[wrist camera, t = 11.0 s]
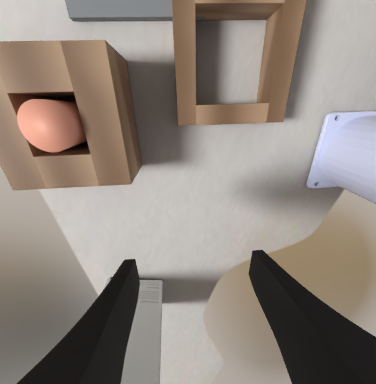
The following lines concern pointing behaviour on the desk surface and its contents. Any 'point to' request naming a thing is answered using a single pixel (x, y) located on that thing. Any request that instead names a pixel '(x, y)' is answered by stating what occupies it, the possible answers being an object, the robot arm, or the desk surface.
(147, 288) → the skincare box
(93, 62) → the plunger housing
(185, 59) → the sleeve
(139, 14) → the pad
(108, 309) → the robot arm
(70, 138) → the plunger
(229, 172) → the desk surface
